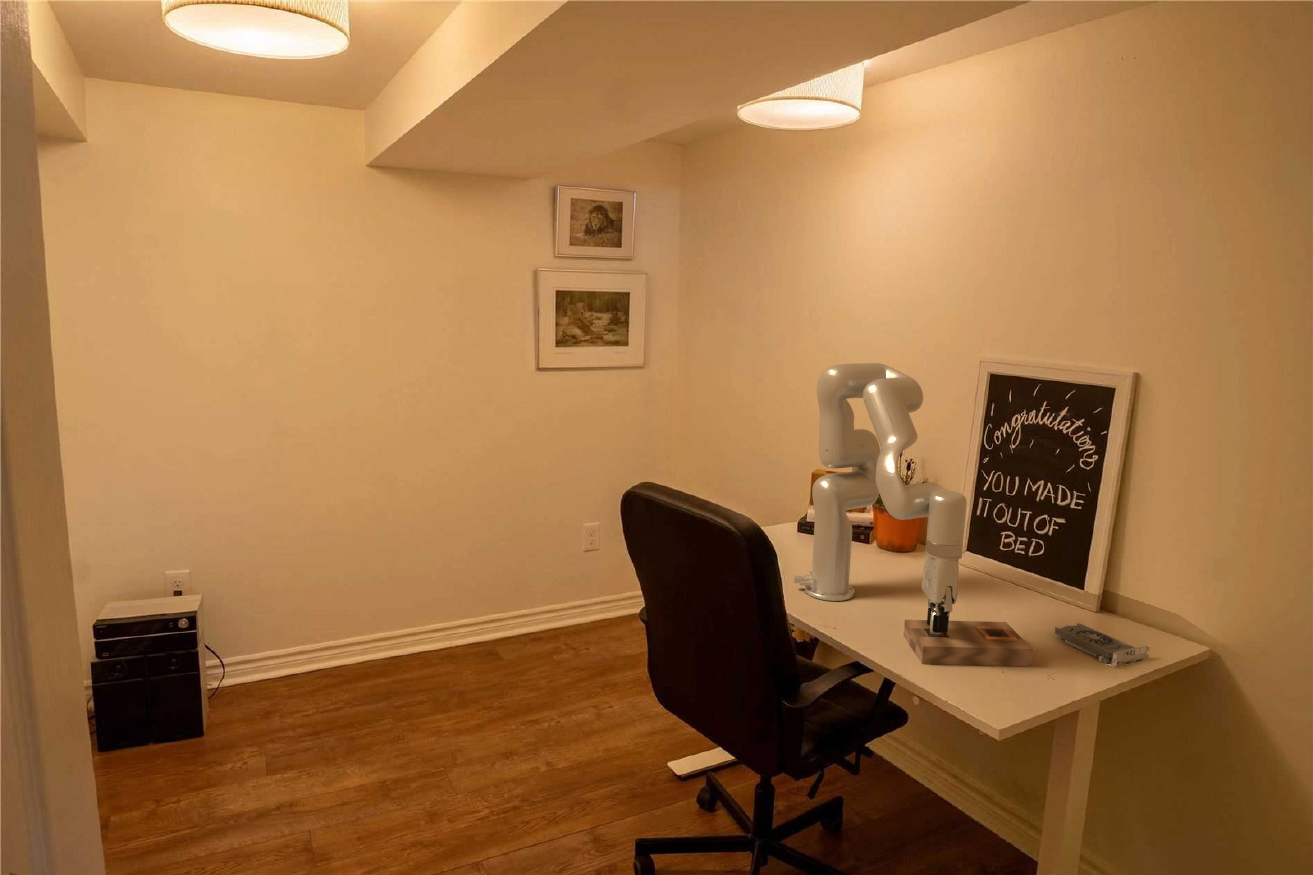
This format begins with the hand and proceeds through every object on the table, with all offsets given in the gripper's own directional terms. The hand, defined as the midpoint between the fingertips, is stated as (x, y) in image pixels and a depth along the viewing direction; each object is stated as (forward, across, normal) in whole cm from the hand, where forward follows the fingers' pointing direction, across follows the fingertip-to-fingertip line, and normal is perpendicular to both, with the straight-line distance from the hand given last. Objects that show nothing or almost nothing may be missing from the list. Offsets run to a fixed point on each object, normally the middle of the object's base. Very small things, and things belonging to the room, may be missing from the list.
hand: (937, 627), depth 181 cm
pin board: (+5, 0, +6) cm, 8 cm away
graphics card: (+6, -3, +38) cm, 38 cm away
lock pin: (+5, 0, 0) cm, 5 cm away
